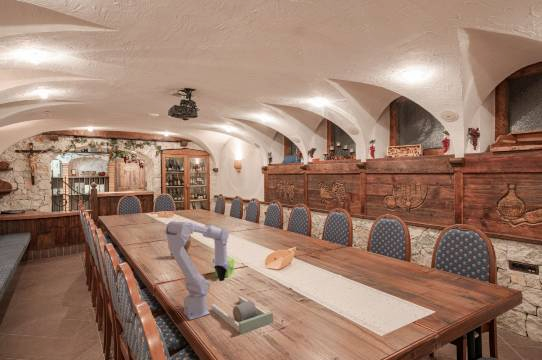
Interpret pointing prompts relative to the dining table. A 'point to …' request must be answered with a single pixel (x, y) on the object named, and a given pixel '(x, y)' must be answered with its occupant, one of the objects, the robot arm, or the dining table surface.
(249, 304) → the ceramic mug
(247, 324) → the grey u-shaped frame
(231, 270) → the green rounded oblong piece
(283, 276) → the dining table surface
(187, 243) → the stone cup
